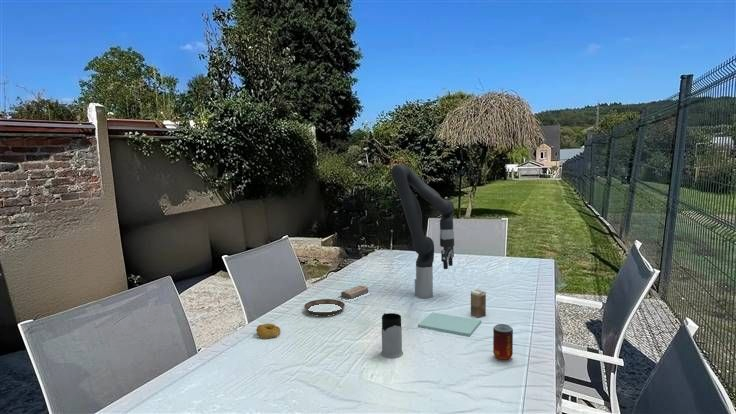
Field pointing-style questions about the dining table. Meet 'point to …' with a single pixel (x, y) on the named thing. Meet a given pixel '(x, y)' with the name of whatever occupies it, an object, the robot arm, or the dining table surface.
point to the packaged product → (353, 292)
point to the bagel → (268, 330)
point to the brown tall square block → (478, 303)
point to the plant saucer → (324, 301)
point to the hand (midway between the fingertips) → (448, 267)
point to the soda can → (503, 342)
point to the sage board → (450, 324)
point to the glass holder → (391, 336)
